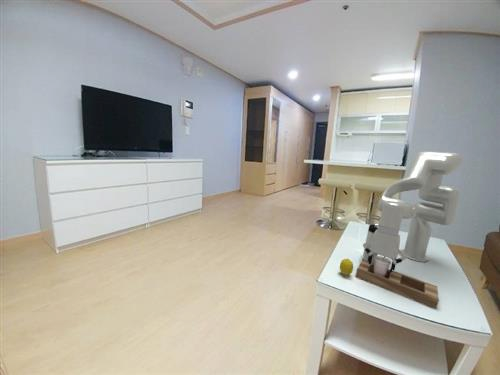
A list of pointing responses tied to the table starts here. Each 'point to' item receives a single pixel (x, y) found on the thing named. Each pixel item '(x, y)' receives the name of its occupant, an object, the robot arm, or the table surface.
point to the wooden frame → (400, 284)
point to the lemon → (346, 266)
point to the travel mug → (369, 239)
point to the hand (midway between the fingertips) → (380, 266)
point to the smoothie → (381, 265)
